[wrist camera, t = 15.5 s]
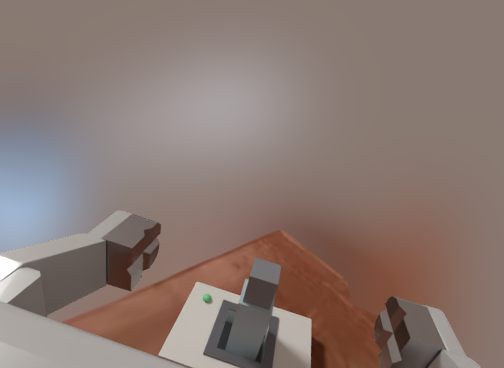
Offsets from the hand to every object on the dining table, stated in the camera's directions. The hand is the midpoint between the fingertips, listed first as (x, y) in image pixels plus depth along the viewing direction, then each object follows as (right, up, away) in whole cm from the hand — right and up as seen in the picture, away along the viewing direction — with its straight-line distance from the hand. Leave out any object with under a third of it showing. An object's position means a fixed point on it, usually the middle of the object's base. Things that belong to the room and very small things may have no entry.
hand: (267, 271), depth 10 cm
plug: (-2, -19, +28) cm, 34 cm away
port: (-2, -19, +29) cm, 35 cm away
